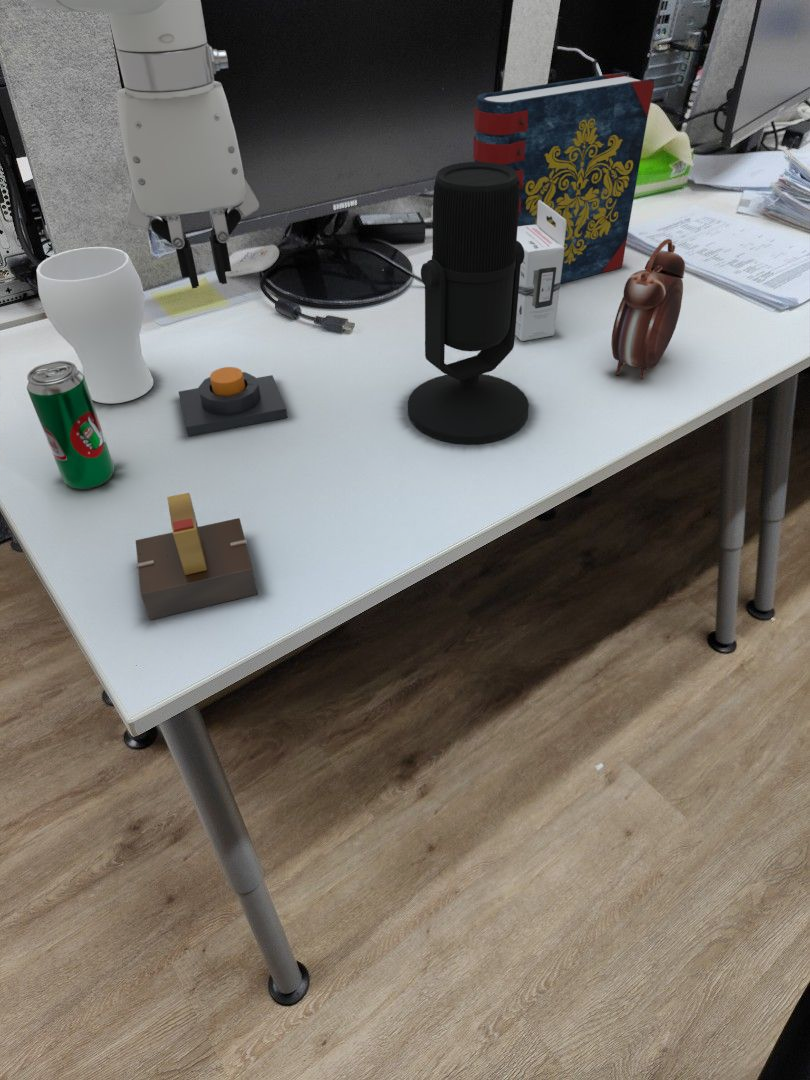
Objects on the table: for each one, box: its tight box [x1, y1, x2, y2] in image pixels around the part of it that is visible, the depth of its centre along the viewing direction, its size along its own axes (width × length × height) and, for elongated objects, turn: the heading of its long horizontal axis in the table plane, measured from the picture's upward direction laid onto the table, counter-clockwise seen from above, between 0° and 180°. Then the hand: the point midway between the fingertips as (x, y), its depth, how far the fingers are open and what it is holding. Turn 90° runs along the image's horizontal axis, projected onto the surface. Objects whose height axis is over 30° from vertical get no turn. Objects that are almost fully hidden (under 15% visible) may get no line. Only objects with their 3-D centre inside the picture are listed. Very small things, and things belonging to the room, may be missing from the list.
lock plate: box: [135, 517, 259, 621], centre depth 65 cm, size 9×7×3 cm
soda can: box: [26, 360, 115, 490], centre depth 74 cm, size 5×5×12 cm
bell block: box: [178, 371, 288, 437], centre depth 86 cm, size 11×8×3 cm
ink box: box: [515, 200, 567, 342], centre depth 96 cm, size 8×5×15 cm, turn 17°
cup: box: [35, 246, 154, 404], centre depth 86 cm, size 11×11×15 cm
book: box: [472, 71, 655, 285], centre depth 104 cm, size 25×7×25 cm, turn 119°
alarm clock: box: [610, 238, 686, 379], centre depth 87 cm, size 11×5×15 cm, turn 146°
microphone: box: [407, 161, 530, 445], centre depth 78 cm, size 14×14×25 cm
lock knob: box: [166, 492, 207, 575], centre depth 63 cm, size 5×2×5 cm, turn 18°
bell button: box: [209, 366, 245, 396], centre depth 85 cm, size 4×4×2 cm
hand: (207, 279), depth 77 cm, fingers closed
